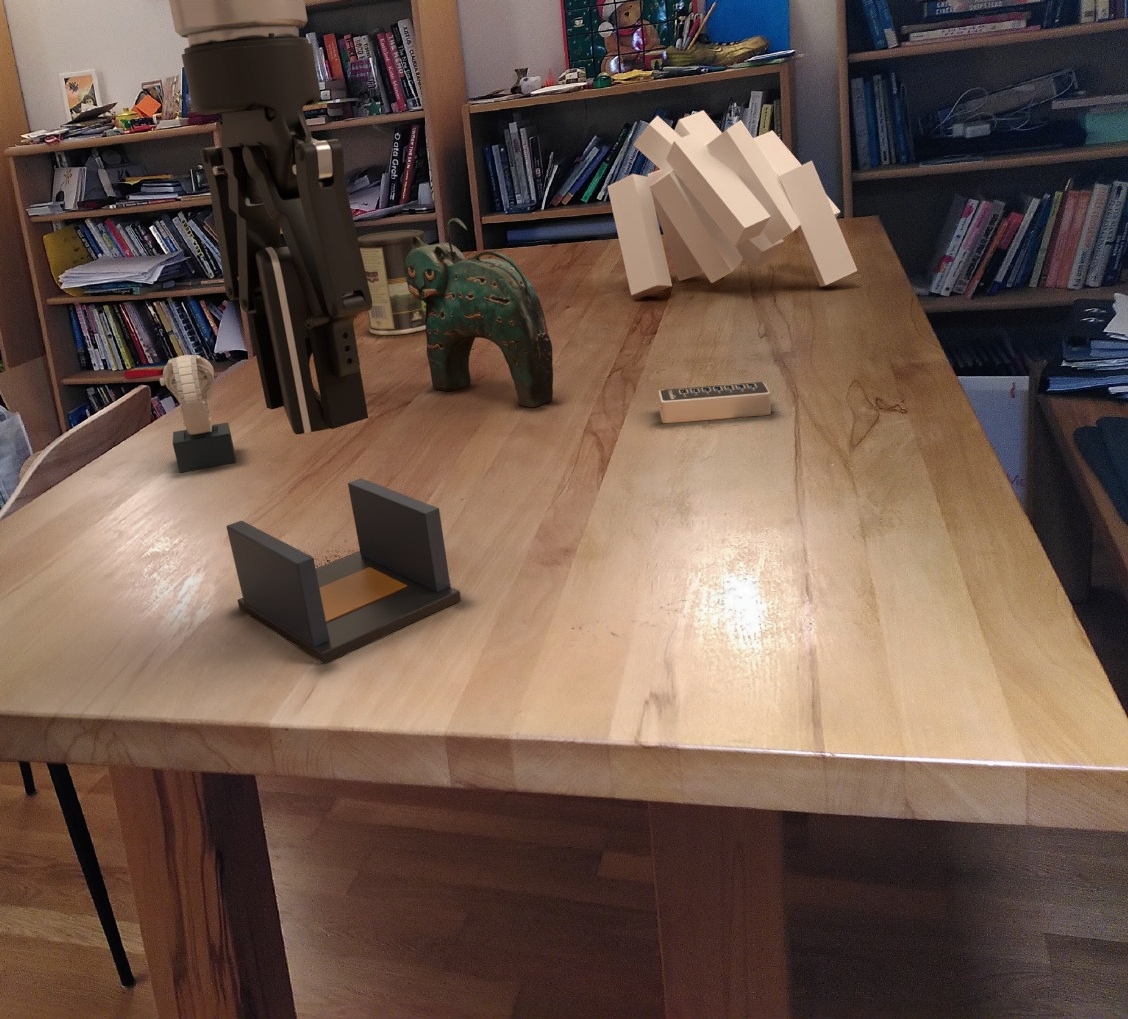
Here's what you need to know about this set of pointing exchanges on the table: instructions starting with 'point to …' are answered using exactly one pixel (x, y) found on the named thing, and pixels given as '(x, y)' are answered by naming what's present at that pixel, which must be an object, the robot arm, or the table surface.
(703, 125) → the pile of blocks
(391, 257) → the coffee can
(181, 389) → the watch
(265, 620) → the cradle
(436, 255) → the ceramic cat
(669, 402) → the multiport hub
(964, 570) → the table surface
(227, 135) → the robot arm
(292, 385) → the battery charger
